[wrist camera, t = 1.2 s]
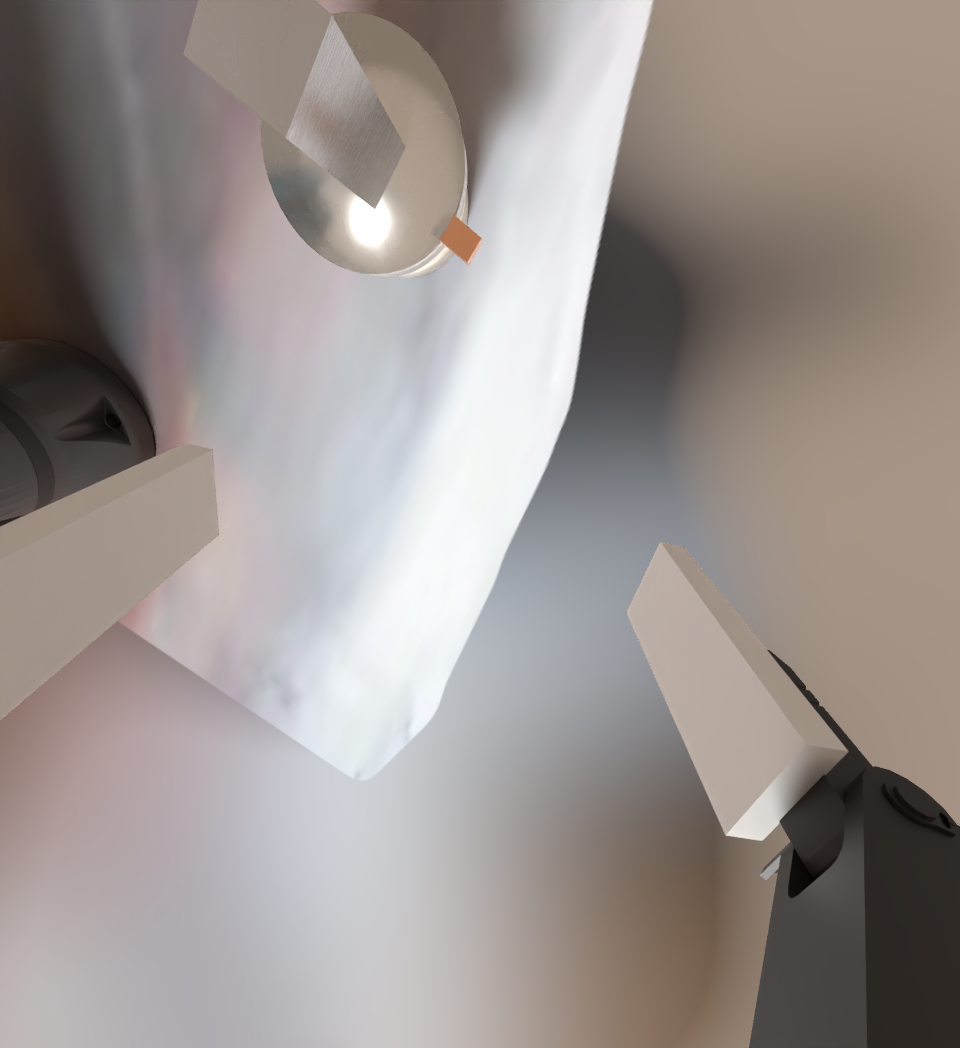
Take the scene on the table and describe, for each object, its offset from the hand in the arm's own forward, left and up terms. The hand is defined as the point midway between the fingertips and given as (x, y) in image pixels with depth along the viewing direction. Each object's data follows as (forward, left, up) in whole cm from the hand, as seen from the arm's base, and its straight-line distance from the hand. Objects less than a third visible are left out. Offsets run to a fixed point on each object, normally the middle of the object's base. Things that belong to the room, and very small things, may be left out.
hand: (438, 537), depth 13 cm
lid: (-11, +7, -20) cm, 24 cm away
